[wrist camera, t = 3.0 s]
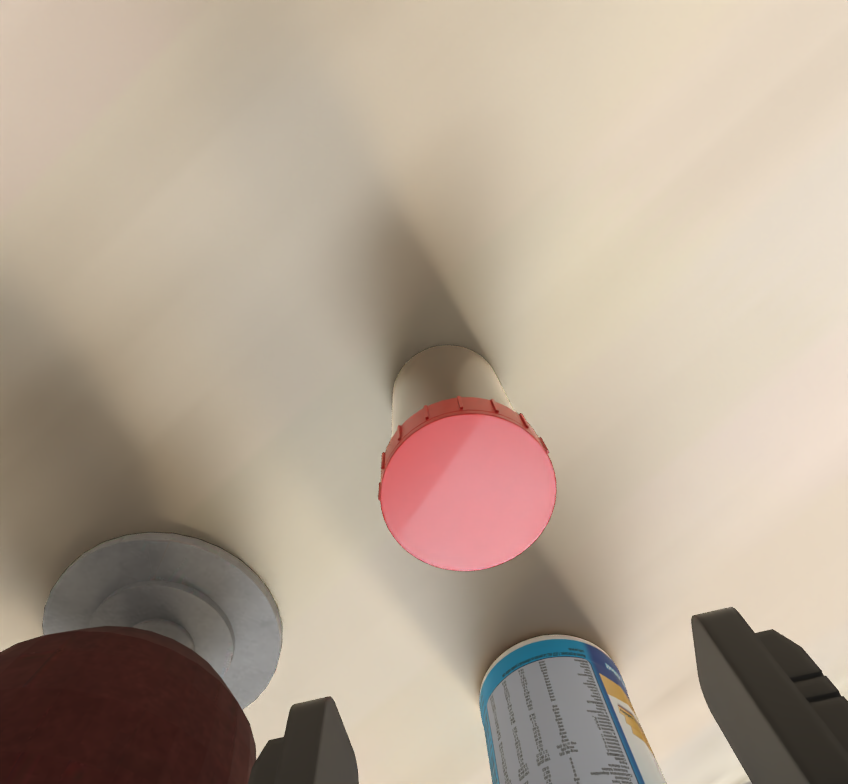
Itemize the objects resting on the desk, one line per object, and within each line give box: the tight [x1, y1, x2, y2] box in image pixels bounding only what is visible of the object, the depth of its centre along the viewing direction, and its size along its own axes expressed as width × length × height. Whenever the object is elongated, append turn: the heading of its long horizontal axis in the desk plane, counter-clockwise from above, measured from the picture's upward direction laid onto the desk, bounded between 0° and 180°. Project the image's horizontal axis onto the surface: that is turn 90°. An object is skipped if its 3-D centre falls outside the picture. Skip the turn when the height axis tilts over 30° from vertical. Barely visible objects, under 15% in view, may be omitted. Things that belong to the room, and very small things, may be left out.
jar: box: [391, 345, 514, 438], centre depth 25 cm, size 5×5×9 cm
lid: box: [378, 396, 556, 571], centre depth 21 cm, size 6×6×2 cm
